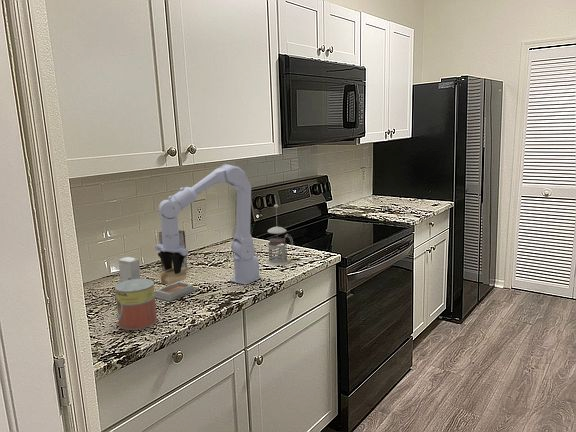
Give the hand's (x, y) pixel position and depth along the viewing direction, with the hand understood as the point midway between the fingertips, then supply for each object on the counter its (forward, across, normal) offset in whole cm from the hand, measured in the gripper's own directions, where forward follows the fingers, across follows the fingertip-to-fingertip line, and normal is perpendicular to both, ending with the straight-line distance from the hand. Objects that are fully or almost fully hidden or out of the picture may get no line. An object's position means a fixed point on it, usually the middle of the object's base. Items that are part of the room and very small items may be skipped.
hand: (173, 272), depth 166 cm
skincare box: (+8, -15, -7) cm, 18 cm away
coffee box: (+8, -21, +19) cm, 29 cm away
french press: (+8, +11, +49) cm, 51 cm away
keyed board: (+8, 0, 0) cm, 8 cm away
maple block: (+3, 0, 0) cm, 3 cm away
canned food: (+8, +9, -23) cm, 26 cm away
